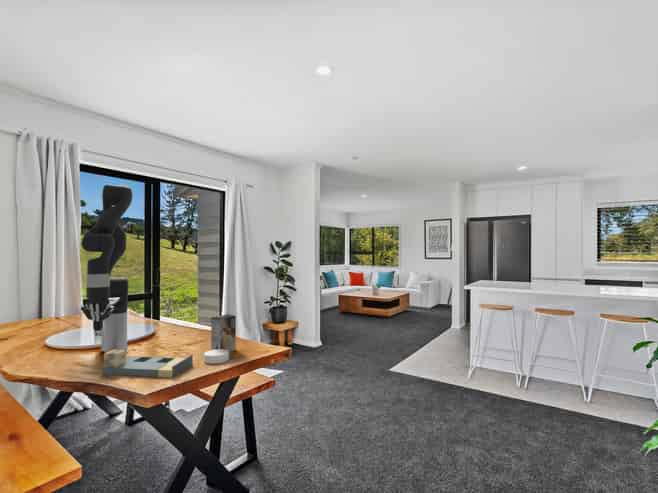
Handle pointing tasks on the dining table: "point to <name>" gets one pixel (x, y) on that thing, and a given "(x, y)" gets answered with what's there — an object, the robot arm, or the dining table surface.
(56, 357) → the dining table surface
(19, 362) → the dining table surface
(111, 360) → the block
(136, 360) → the box
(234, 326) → the coffee box
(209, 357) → the white ridged round container
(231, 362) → the dining table surface
